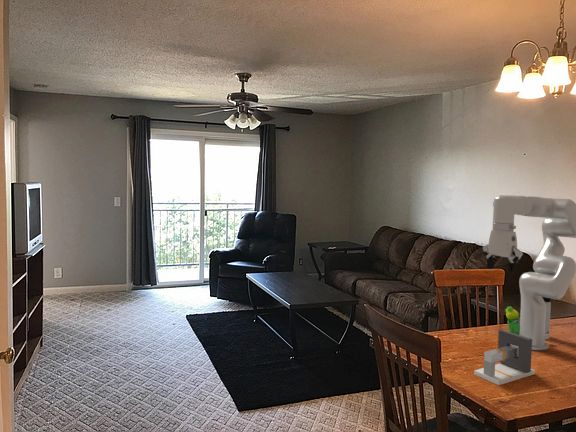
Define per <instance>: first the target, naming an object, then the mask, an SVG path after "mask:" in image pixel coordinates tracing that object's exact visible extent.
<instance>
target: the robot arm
mask: <svg viewBox="0 0 576 432" xmlns="http://www.w3.org/2000/svg"><path fill="white" fill-rule="evenodd" d="M575 202H576V201H574V200H572V199H570V198H552V197H551V198H550V197H549V198H548V197H541V196H527V195H526V196H525V195H513V194H511V195H509V194H508V195H506V194H504V195H503V194H502V195H497V196H495V197H494V198H493V202H492V203H493V204H492V206H493V209H492V210H493V212H492V230H490V233H489V239H488V244H486V245H485V246H482V250H483V254H484V256H485V258H486V259H487V260H486V261H487V262H486V268H487V270H491V269H492V270H493V269H494V268H495V258H494V257H502V258H507V259H508V261H509V262H508V270H507V272H508V274H515V273H516V269H517V263H518V262H519V261H520V260H521V258H522V256H523V255H524V252H522V251H521V250H520V249H518V239H517V233H516V231H514V230H516V229H517V226H516V225H515V215H516V216H522V217H530V218H533V217H534V218H543V219H544V220H543V221H542V224H541V231H542V239H543V245H542V247H541V249H540V251H539V252H538V254H537V256H536V258H535V259H534V261H533V264H532V268H533V271H528V272H523V273H522V274H521V275H520V277H519V281H518V283H519V284H518V285H519V292H520V312H519V318H520V334H519V335H521V336H524V337H527V338H530V339H532V351H545V350H548V349H549V344H548V343H547V342H546V340H549V339H550V337H551V336H550V334H549V335H548V334H546V335H545V319H546V304H545V302H544V300H543V298H542V297H546V298H550V299H551V300H561V299H563V297H564V296H565V294H566V292H567V290H568V289H569V287H570V285H571V284H572V281H573V280H574V277H575V275H576V261H575V260H574V258H573V257H569V256H567V255H564V254H565V246H564V244H563V242H562V240H561V239H560V238H562V237H563V238H569V239H571V238H572V239H576V203H575ZM559 237H560V238H559Z"/></svg>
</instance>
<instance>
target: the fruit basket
mask: <svg viewBox="0 0 576 432" xmlns="http://www.w3.org/2000/svg"><path fill="white" fill-rule="evenodd" d="M505 312H506V313H505V316H506V318H507V325H508V331H509V332H512V333H515V334H518V335H520V312H518V311H517V310H516V309H514V307H512V306H506V308H505Z"/></svg>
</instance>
